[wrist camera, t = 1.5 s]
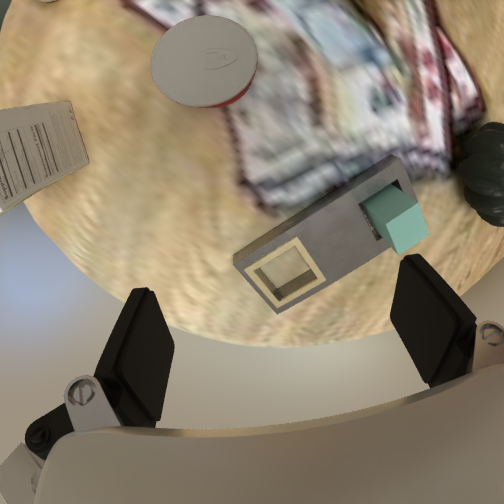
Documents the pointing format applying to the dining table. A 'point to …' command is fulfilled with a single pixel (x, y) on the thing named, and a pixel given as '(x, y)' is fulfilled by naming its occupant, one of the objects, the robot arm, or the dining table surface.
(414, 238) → the peg
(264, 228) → the dining table surface
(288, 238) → the grey peg hole board
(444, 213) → the dining table surface
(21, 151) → the supplement box
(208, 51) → the canned food
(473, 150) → the squash
